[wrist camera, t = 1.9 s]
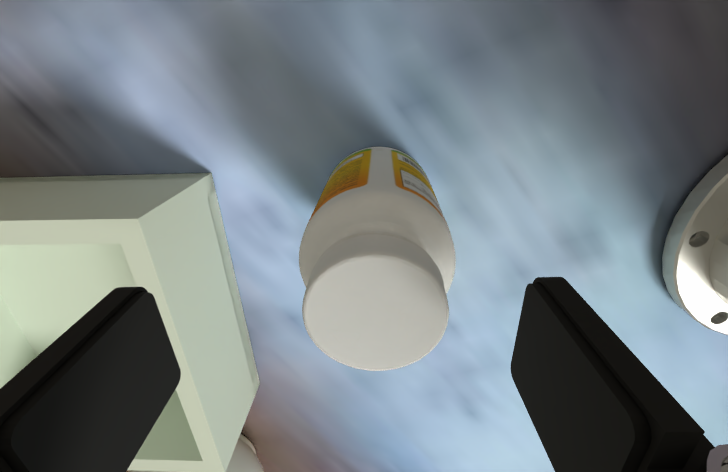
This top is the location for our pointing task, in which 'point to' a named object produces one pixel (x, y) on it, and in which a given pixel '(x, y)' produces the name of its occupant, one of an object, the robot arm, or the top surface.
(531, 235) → the top surface
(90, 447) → the robot arm
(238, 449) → the lidded jar
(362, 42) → the top surface
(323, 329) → the supplement bottle
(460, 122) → the top surface
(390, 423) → the top surface
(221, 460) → the bin
